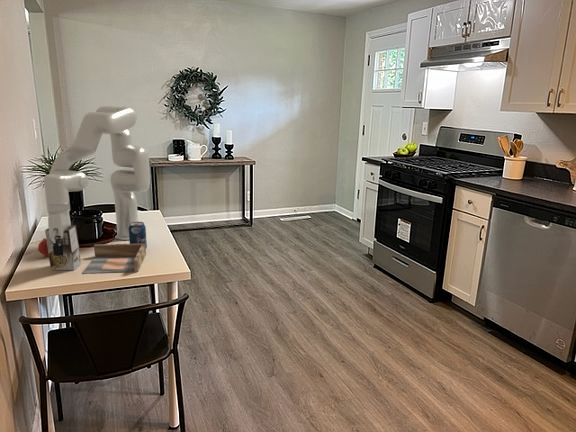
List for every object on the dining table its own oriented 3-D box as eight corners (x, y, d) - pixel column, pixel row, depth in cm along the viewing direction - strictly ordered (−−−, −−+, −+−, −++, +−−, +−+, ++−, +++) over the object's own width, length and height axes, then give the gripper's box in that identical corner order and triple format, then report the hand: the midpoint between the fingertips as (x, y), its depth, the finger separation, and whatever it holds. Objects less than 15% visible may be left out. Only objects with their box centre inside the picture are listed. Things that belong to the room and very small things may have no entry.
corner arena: (95, 255, 175) (94, 244, 174) (145, 254, 178) (145, 243, 177) (82, 273, 158) (81, 261, 157) (138, 271, 161) (137, 259, 160)
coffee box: (81, 264, 167) (77, 225, 163) (74, 270, 161) (69, 230, 156) (58, 263, 167) (53, 224, 162) (49, 270, 160) (44, 229, 156)
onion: (51, 252, 177) (49, 234, 175) (58, 256, 174) (55, 237, 172) (36, 256, 173) (34, 237, 171) (42, 260, 170) (40, 241, 167)
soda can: (141, 253, 180) (139, 226, 176) (126, 251, 181) (124, 225, 178) (150, 248, 186) (148, 221, 183) (135, 246, 187) (133, 220, 184)
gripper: (56, 201, 165) (61, 243, 169) (38, 213, 148) (43, 259, 153) (76, 201, 166) (81, 243, 170) (61, 213, 149) (66, 258, 154)
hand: (63, 250), depth 162 cm, fingers open, 9 cm apart
